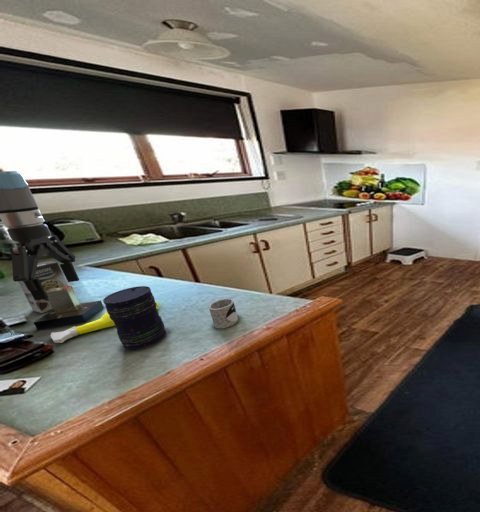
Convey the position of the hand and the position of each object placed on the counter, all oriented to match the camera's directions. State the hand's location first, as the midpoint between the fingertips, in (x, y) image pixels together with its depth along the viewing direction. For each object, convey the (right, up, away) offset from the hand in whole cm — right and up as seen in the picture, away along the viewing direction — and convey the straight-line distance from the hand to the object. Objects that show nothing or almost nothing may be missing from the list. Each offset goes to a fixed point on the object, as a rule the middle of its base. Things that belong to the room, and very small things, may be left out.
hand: (59, 289), depth 88 cm
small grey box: (0, -7, +3) cm, 8 cm away
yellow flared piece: (+16, -11, +1) cm, 19 cm away
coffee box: (-16, -8, +13) cm, 22 cm away
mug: (+55, -10, 0) cm, 56 cm away
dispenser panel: (0, -10, +4) cm, 11 cm away
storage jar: (+36, -14, -9) cm, 40 cm away
